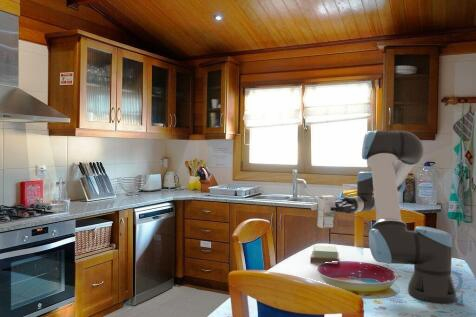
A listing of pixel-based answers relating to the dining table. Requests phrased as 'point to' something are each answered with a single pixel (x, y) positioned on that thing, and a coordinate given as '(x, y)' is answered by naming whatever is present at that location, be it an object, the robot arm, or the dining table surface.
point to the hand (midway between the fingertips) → (318, 208)
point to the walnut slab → (321, 259)
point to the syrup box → (324, 218)
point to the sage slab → (325, 252)
